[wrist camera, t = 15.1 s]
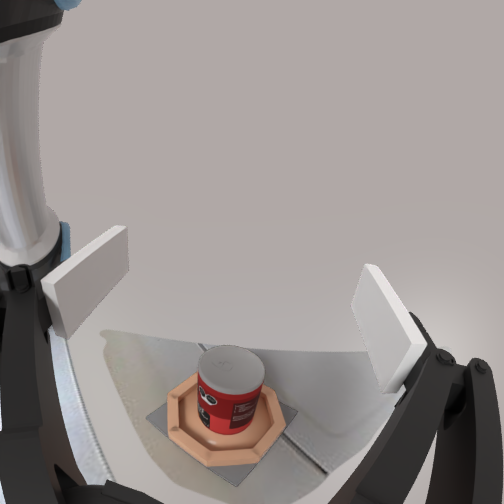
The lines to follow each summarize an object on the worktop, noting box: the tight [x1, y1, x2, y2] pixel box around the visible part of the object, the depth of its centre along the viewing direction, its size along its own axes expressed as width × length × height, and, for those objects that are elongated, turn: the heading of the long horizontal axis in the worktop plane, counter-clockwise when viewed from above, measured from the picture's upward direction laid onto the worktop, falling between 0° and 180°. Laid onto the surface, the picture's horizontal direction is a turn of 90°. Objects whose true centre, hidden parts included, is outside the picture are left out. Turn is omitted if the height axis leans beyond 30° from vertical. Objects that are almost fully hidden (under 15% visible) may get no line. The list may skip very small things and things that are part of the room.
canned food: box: [197, 345, 265, 435], centre depth 33 cm, size 8×8×11 cm
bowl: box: [167, 371, 286, 467], centre depth 35 cm, size 16×16×2 cm
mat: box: [146, 401, 298, 487], centre depth 36 cm, size 16×16×1 cm
